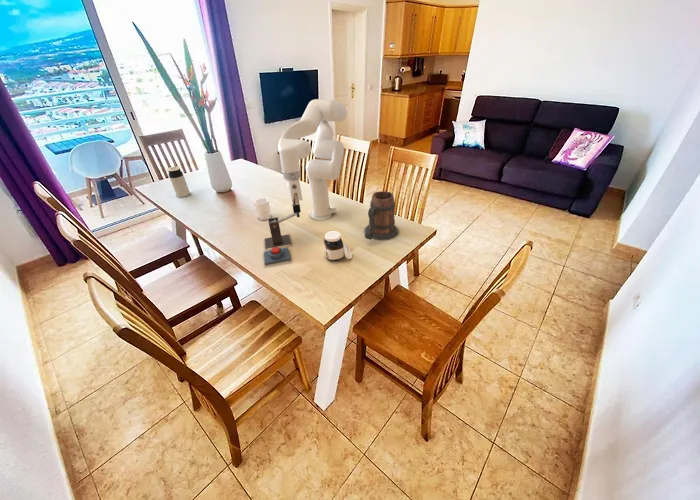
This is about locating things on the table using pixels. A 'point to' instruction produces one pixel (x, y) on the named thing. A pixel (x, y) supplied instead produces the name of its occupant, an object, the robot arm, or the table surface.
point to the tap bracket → (276, 235)
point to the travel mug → (178, 181)
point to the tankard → (381, 217)
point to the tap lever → (287, 217)
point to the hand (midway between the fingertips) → (297, 211)
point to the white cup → (262, 208)
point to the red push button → (275, 250)
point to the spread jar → (335, 246)
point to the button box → (276, 256)
